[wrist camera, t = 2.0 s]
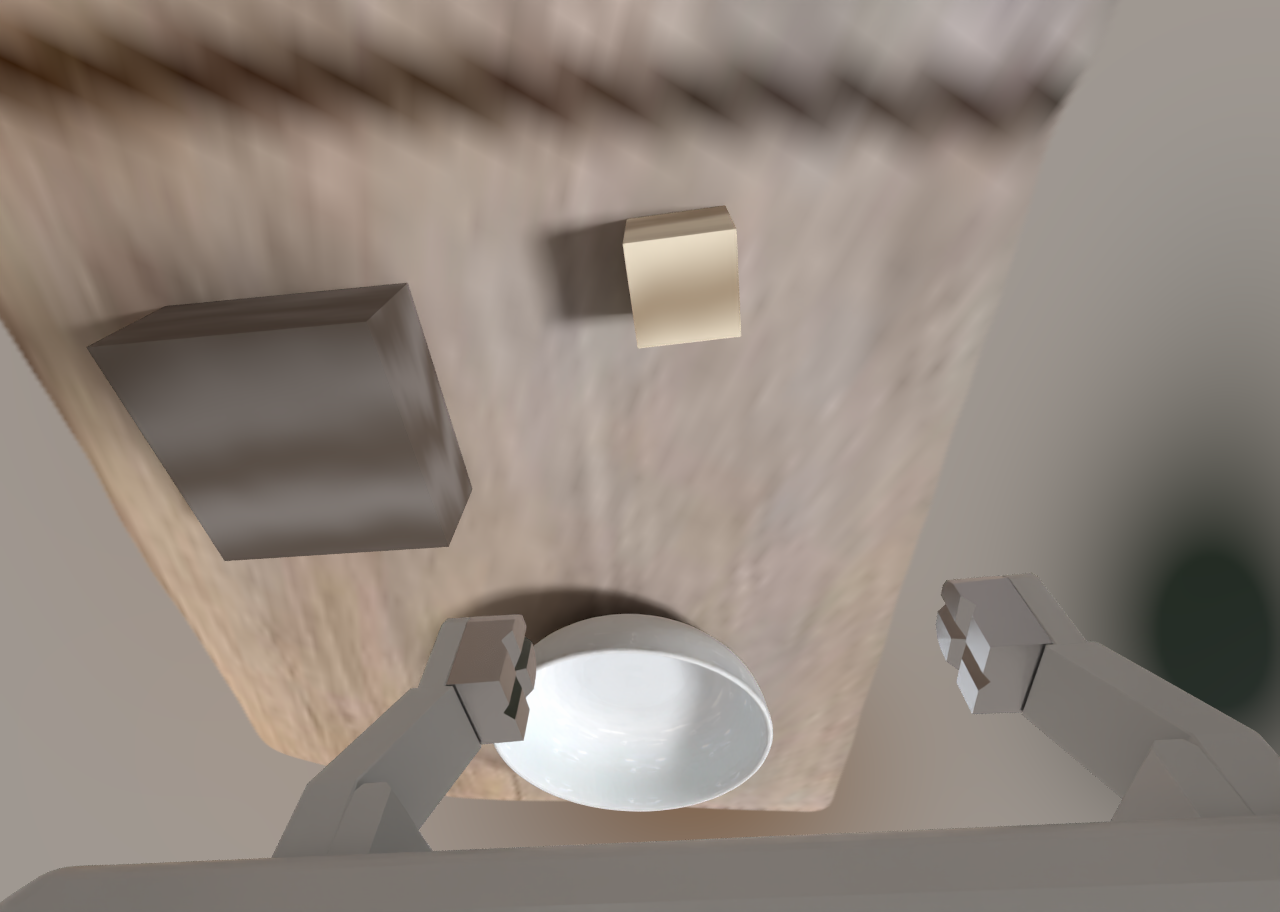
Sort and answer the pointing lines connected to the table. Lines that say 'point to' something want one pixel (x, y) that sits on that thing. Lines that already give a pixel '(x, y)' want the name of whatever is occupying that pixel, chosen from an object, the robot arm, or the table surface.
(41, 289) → the table surface
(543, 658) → the serving bowl
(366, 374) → the charcoal riser block
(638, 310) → the birch cube
